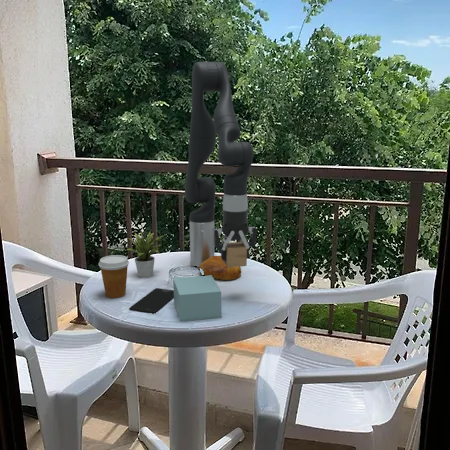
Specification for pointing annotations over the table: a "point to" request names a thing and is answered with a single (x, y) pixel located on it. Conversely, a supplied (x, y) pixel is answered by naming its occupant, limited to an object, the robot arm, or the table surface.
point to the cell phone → (153, 301)
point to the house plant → (145, 255)
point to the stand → (197, 298)
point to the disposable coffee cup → (114, 275)
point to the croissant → (219, 269)
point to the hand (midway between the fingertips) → (234, 259)
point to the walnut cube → (236, 255)
